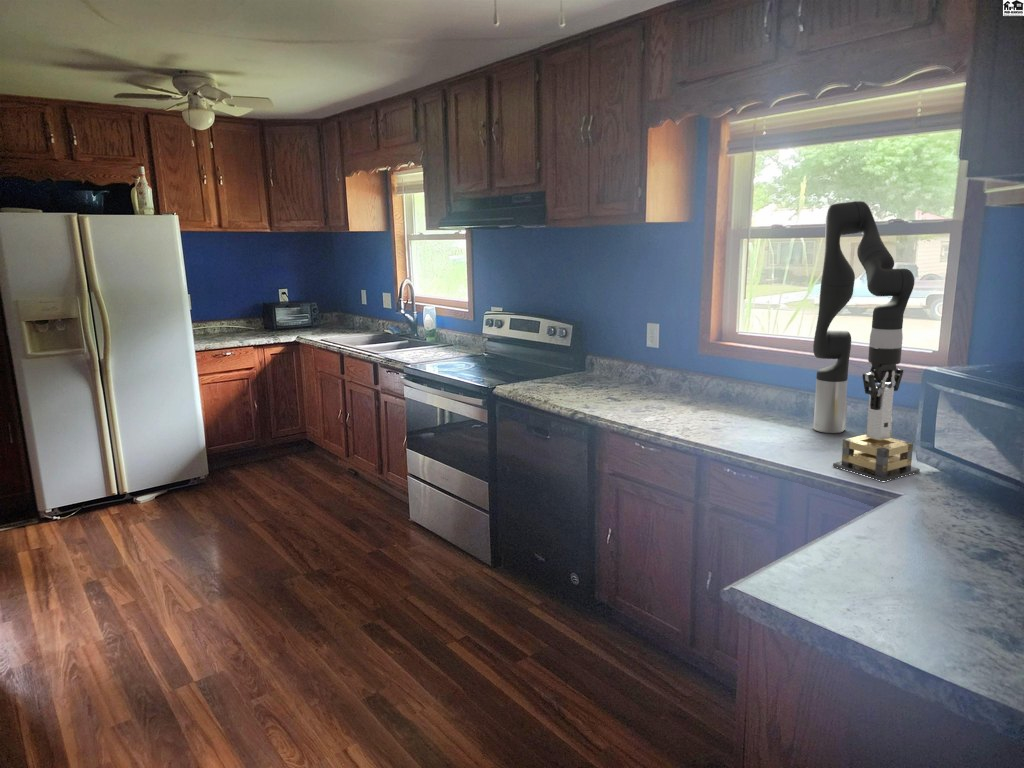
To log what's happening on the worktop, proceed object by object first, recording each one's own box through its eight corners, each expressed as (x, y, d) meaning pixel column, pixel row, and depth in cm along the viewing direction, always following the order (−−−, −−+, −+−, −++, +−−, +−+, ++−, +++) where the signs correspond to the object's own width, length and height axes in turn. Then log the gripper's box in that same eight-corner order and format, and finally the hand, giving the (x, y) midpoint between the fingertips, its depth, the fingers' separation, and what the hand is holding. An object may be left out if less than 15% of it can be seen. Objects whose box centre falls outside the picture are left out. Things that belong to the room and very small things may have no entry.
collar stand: (868, 457, 191) (870, 431, 189) (919, 472, 178) (922, 443, 176) (832, 466, 184) (834, 439, 183) (883, 482, 171) (885, 453, 170)
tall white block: (875, 434, 182) (879, 385, 179) (890, 438, 178) (894, 387, 176) (866, 436, 180) (870, 386, 177) (880, 440, 177) (884, 389, 174)
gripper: (889, 341, 181) (884, 402, 184) (854, 346, 175) (850, 409, 178) (916, 344, 174) (910, 407, 177) (881, 349, 168) (876, 414, 171)
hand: (880, 408), depth 178 cm, fingers closed on tall white block, 4 cm apart
